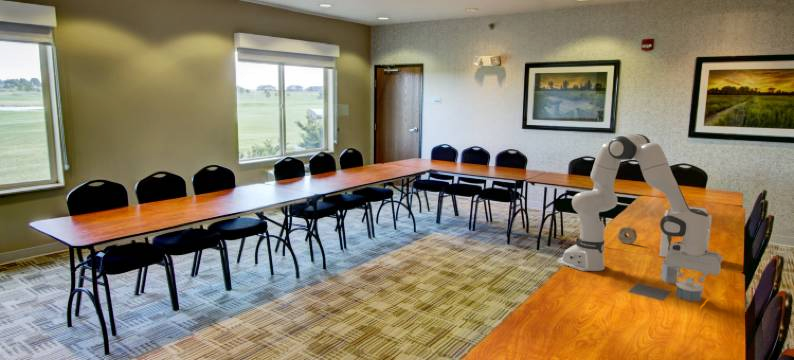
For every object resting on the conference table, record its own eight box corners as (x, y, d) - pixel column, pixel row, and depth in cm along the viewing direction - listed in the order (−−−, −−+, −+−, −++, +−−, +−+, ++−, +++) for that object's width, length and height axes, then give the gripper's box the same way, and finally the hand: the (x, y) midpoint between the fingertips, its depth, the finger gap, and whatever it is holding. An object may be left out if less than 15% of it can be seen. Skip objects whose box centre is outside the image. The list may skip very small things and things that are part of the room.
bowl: (674, 298, 216) (675, 287, 215) (679, 292, 223) (680, 281, 222) (697, 304, 210) (699, 292, 210) (702, 298, 217) (704, 287, 216)
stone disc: (637, 244, 296) (638, 228, 295) (634, 245, 294) (635, 229, 292) (619, 240, 304) (621, 224, 302) (616, 241, 301) (618, 225, 300)
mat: (627, 292, 222) (627, 291, 222) (638, 284, 232) (638, 283, 232) (662, 301, 212) (662, 300, 212) (671, 292, 223) (671, 291, 223)
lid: (673, 287, 215) (674, 278, 215) (679, 281, 223) (680, 272, 222) (700, 293, 209) (701, 284, 208) (705, 287, 216) (706, 278, 216)
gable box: (707, 257, 274) (713, 206, 270) (706, 264, 263) (713, 211, 259) (661, 250, 286) (666, 201, 282) (658, 256, 275) (664, 205, 271)
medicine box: (676, 285, 232) (678, 267, 231) (665, 284, 233) (667, 266, 231) (670, 279, 240) (672, 261, 238) (660, 278, 240) (662, 260, 239)
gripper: (724, 251, 208) (720, 283, 211) (669, 241, 222) (666, 272, 224) (721, 255, 204) (717, 287, 206) (665, 244, 217) (662, 275, 220)
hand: (690, 279), depth 215 cm, fingers open, 6 cm apart
